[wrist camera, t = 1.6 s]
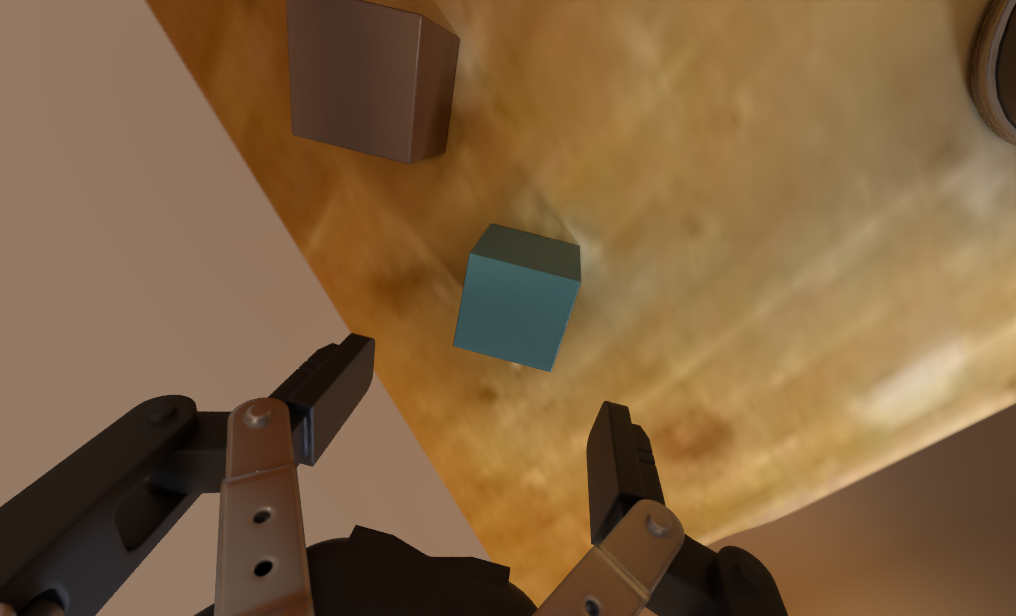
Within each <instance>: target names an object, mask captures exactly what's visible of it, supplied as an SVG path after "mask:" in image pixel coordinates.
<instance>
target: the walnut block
mask: <svg viewBox="0 0 1016 616" xmlns="http://www.w3.org/2000/svg"><path fill="white" fill-rule="evenodd" d="M286 5H287V28H288V52H289V75H290V98H291V121H292V134H293V135H295V136H299V137H303V138H307V139H311V140H315V141H318V142H322V143H326V144H330V145H334V146H338V147H342V148H346V149H350V150H354V151H358V152H362V153H366V154H370V155H374V156H378V157H382V158H386V159H390V160H394V161H398V162H402V163H406V164H411V163H414V162H417V161H420V160H423V159H426V158H429V157H431V156H434V155H437V154H440V153H443V152H445V148H446V141H447V133H448V125H449V117H450V110H451V102H452V94H453V86H454V79H455V71H456V63H457V55H458V48H459V40H460V39H459V37H458V36H456V35H454V34H453V33H451V32H449V31H448V30H446V29H445V28H443V27H441V26H440V25H438V24H436V23H435V22H433V21H431V20H430V19H428V18H426V17H425V16H423V15H422V14H417V13H413V12H409V11H405V10H401V9H396V8H392V7H388V6H384V5H380V4H375V3H371V2H367V1H363V0H286Z"/></svg>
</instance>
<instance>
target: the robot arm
mask: <svg viewBox="0 0 1016 616" xmlns="http://www.w3.org/2000/svg"><path fill="white" fill-rule="evenodd" d="M971 85H972V93H973V98H974V101H975V105H976V107H977V110H978V112H979V114H980V116H981V117H982V119H983V121H984V122H985V123H986V125H987V126H988V127H989V128H990V129H991V130H992V131H993V132H994V133H995V134H996V135H998V136H999V137H1000V138H1002V139H1004V140H1005V141H1007V142H1009V143H1011V144H1013V145H1016V0H994V1H993V3H992V5H991V7H990V9H989V11H988V13H987V15H986V17H985V20H984V22H983V24H982V27H981V29H980V32H979V35H978V39H977V42H976V45H975V50H974V54H973V60H972V69H971ZM374 353H375V340H374V339H373V338H369V337H366V336H362V335H358V334H354V333H351V334H350V335H349V336H348V337H347V338H346V339H345V340H344V341H343V342H342V343H341V344H340V345H337V344H333V343H332V344H329V345H327V346H325V347H323V348H321V349H318V350H317V351H316V352H315V353H314V354H313V355H312V356H311V357H310V358H309V359H308V360H307V361H305V362H304V363H303V364H302V365H301V366H300V367H299V369H297V370H296V371H295V372H294V373H293V374H292V375H291V376H290V377H289V378H288V379H287V380H285V381H284V382H283V383H282V384H281V385H280V386H279V387H278V388H277V389H276V390H275V391H274V392H273V393H272V394H271V395H270V396H269V397H268V398H257V399H253V400H250V401H247V402H245V403H243V404H241V405H239V406H238V407H236V408H235V409H234V410H233V411H232V412H198V411H197V408H196V404H195V402H194V401H193V400H192V399H191V398H189V397H186V396H182V395H166V396H160V397H156V398H153V399H150V400H147V401H145V402H143V403H141V404H139V405H138V406H136V407H134V408H133V409H132V410H130V411H129V412H128V413H126V414H125V415H124V416H122V417H121V418H120V419H118V420H117V421H116V422H114V423H113V424H111V425H110V426H109V427H108V428H106V429H105V430H103V431H102V432H101V433H99V434H98V435H97V436H95V437H94V438H93V439H91V440H90V441H89V442H87V443H86V444H85V445H83V446H82V447H81V448H79V449H78V450H77V451H75V452H74V453H72V454H71V455H70V456H69V457H67V458H66V459H65V460H63V461H62V462H60V463H59V464H58V465H57V466H55V467H54V468H52V469H51V470H50V471H48V472H47V473H46V474H45V475H43V476H42V477H40V478H39V479H38V480H36V481H35V482H34V483H32V484H31V485H29V486H28V487H27V488H25V489H24V490H23V491H21V492H20V493H19V494H17V495H16V496H15V497H13V498H12V499H11V500H9V501H8V502H7V503H5V504H4V505H3V506H1V507H0V616H95V615H96V614H97V613H98V612H99V611H100V609H101V608H102V607H103V606H104V604H106V602H107V601H108V600H109V599H110V598H111V597H112V596H113V594H114V593H115V592H116V591H117V590H118V589H119V588H120V586H121V585H122V584H123V583H124V582H125V581H126V580H127V578H128V577H129V576H130V575H131V574H132V573H133V572H134V570H135V569H136V568H137V567H138V566H139V565H140V564H141V562H142V561H143V560H144V559H145V558H146V557H147V556H148V554H149V553H150V552H151V551H152V550H153V549H154V548H155V546H156V545H157V544H158V543H159V542H160V540H161V539H162V538H163V537H164V536H165V535H166V534H167V533H168V532H169V530H170V529H171V528H172V527H173V526H174V525H175V524H176V522H177V521H178V520H179V519H180V518H181V517H182V515H183V514H184V513H185V512H186V511H187V510H188V509H189V508H190V506H191V505H192V504H193V503H194V502H195V501H196V499H197V498H198V497H199V496H200V495H201V494H202V493H220V510H219V529H218V548H217V567H216V585H215V603H214V604H212V605H210V606H209V607H207V608H205V609H204V610H203V611H201V612H199V613H198V614H196V615H194V616H639V615H640V613H641V612H642V610H643V609H644V607H646V608H648V609H649V610H651V611H652V612H654V613H655V614H657V615H658V616H788V614H787V612H786V609H785V606H784V604H783V601H782V599H781V596H780V593H779V591H778V588H777V586H776V583H775V581H774V579H773V577H772V575H771V574H770V572H769V571H768V570H767V568H766V567H765V566H764V565H763V564H762V563H761V562H760V561H759V560H758V559H757V558H756V557H754V556H753V555H752V554H750V553H749V552H747V551H745V550H743V549H741V548H739V547H735V546H726V547H723V548H722V549H721V550H720V551H719V552H718V553H716V552H714V551H713V550H711V549H709V548H707V547H706V546H704V545H702V544H700V543H699V542H697V541H695V540H693V539H692V538H690V537H689V536H687V535H686V534H685V533H684V529H683V527H682V524H681V523H680V521H679V519H678V518H677V517H676V515H675V514H674V513H673V512H672V511H671V510H670V509H668V508H667V507H666V505H665V501H664V497H663V493H662V489H661V485H660V481H659V477H658V473H657V468H656V466H655V460H654V456H653V455H652V448H651V444H650V440H649V438H648V436H647V435H646V433H645V432H644V430H643V429H642V428H641V426H639V425H636V424H632V423H631V418H630V413H629V409H628V407H627V406H624V405H620V404H616V403H612V402H609V401H604V402H603V404H602V406H601V408H600V411H599V413H598V415H597V418H596V420H595V422H594V425H593V427H592V429H591V432H590V434H589V438H588V442H587V471H588V490H589V509H590V528H591V544H593V545H594V546H593V547H592V548H591V549H590V550H589V551H588V553H587V554H586V555H585V556H584V557H583V558H582V559H581V561H580V562H579V563H578V564H577V565H576V566H575V567H574V568H573V570H572V571H571V572H570V573H569V574H568V575H567V576H566V577H565V579H564V580H563V581H562V582H561V583H560V584H559V585H558V586H557V588H556V589H555V590H554V591H553V592H552V593H551V594H550V595H549V597H548V598H547V599H546V600H545V601H544V602H543V603H542V605H541V606H540V607H539V608H537V607H536V605H535V604H534V603H533V602H532V600H531V599H530V598H529V597H528V596H527V595H526V594H525V593H524V592H523V591H522V590H520V589H519V588H518V587H517V586H515V585H514V584H512V583H511V582H509V574H510V567H507V566H503V565H500V564H496V563H492V562H489V561H485V560H481V559H478V558H474V557H430V556H427V555H425V554H424V553H422V552H420V551H419V550H417V549H415V548H414V547H412V546H410V545H409V544H407V543H405V542H404V541H402V540H401V539H399V538H397V537H396V536H394V535H391V534H387V533H384V532H379V531H376V530H373V529H369V528H366V527H362V526H358V525H356V526H355V527H354V529H353V531H352V533H351V535H350V537H349V538H336V539H330V540H326V541H322V542H320V543H317V544H314V545H311V546H309V547H307V548H306V544H305V535H304V527H303V518H302V510H301V501H300V493H299V484H298V476H297V467H298V465H299V464H300V463H301V464H305V465H309V466H314V465H315V463H316V462H317V460H318V459H319V458H320V456H321V455H322V453H323V452H324V451H325V449H326V448H327V446H328V445H329V444H330V442H331V441H332V440H333V438H334V437H335V435H336V434H337V432H338V431H339V430H340V428H341V427H342V425H343V424H344V423H345V421H346V420H347V419H348V417H349V416H350V414H351V413H352V412H353V410H354V409H355V408H356V406H357V405H358V403H359V402H360V401H361V399H362V398H363V396H364V395H365V394H366V392H367V390H368V388H369V386H370V384H371V381H372V377H373V367H374Z"/></svg>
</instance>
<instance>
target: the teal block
mask: <svg viewBox="0 0 1016 616" xmlns="http://www.w3.org/2000/svg"><path fill="white" fill-rule="evenodd" d="M580 284H581V265H580V246H577V245H573V244H569V243H565V242H561V241H558V240H554V239H550V238H546V237H542V236H538V235H534V234H530V233H526V232H522V231H518V230H515V229H511V228H507V227H503V226H499V225H495V224H490V226H489V227H488V228H487V230H486V231H485V233H484V234H483V235H482V237H481V238H480V239H479V241H478V242H477V244H476V245H475V246H474V248H473V249H472V250H471V252H470V253H469V258H468V264H467V270H466V275H465V281H464V287H463V292H462V298H461V304H460V309H459V315H458V321H457V326H456V332H455V338H454V343H453V346H455V347H458V348H462V349H466V350H470V351H473V352H477V353H481V354H485V355H488V356H492V357H496V358H499V359H503V360H507V361H511V362H514V363H518V364H522V365H526V366H529V367H533V368H537V369H541V370H544V371H548V372H551V371H552V369H553V366H554V363H555V359H556V356H557V353H558V350H559V347H560V344H561V341H562V338H563V335H564V332H565V329H566V326H567V323H568V320H569V317H570V314H571V311H572V308H573V305H574V302H575V299H576V296H577V293H578V290H579V287H580Z"/></svg>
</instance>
